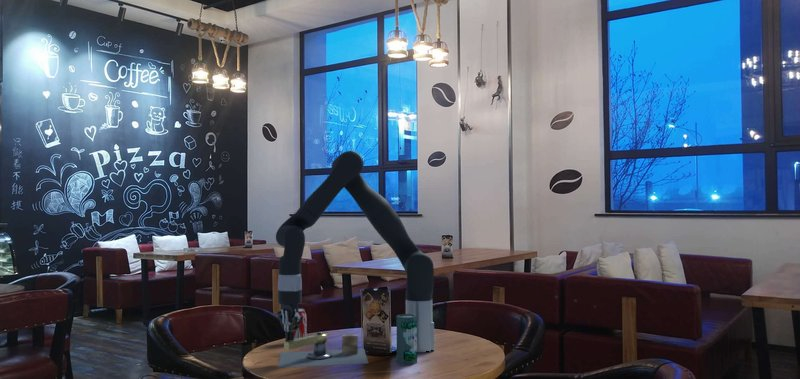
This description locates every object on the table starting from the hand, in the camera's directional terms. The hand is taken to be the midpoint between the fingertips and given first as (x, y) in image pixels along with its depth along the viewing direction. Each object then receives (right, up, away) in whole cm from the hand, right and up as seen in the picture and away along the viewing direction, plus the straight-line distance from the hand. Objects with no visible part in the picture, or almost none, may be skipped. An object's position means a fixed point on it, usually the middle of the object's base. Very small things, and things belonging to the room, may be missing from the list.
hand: (289, 342), depth 196 cm
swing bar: (+5, -1, +2) cm, 5 cm away
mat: (+10, -6, +5) cm, 13 cm away
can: (+37, -6, -2) cm, 38 cm away
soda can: (-2, -7, +28) cm, 29 cm away
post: (+9, -6, +6) cm, 12 cm away
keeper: (+18, -6, +10) cm, 22 cm away
